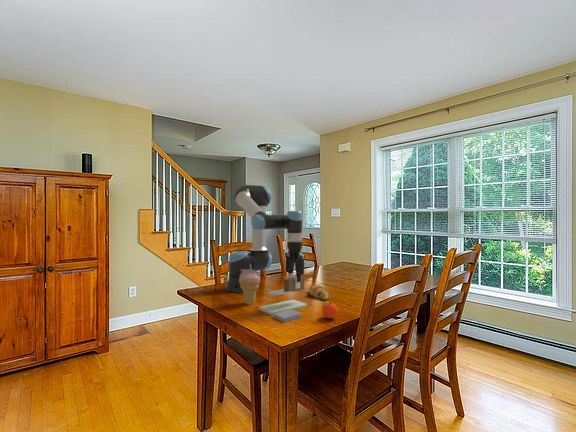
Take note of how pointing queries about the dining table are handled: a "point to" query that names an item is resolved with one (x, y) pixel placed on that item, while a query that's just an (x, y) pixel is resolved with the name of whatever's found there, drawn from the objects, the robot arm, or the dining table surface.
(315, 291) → the croissant
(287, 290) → the brown grey long block
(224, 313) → the dining table surface
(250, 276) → the ice cream cone
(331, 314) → the clementine
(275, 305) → the board
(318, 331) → the dining table surface
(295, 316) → the tile
